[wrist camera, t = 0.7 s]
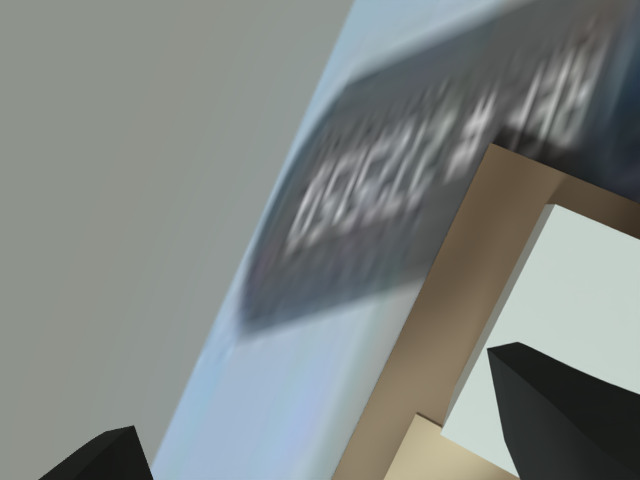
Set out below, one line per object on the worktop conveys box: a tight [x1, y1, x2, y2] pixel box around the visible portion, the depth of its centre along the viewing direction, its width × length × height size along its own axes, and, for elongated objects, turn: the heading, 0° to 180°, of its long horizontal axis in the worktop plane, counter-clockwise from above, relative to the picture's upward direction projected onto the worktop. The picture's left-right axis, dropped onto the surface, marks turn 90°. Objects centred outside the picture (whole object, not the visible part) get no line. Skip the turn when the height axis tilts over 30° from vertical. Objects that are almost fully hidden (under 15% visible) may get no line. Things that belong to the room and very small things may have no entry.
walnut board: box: [332, 143, 640, 480], centre depth 27 cm, size 12×24×1 cm, turn 156°
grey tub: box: [440, 204, 640, 478], centre depth 23 cm, size 6×9×6 cm, turn 156°
